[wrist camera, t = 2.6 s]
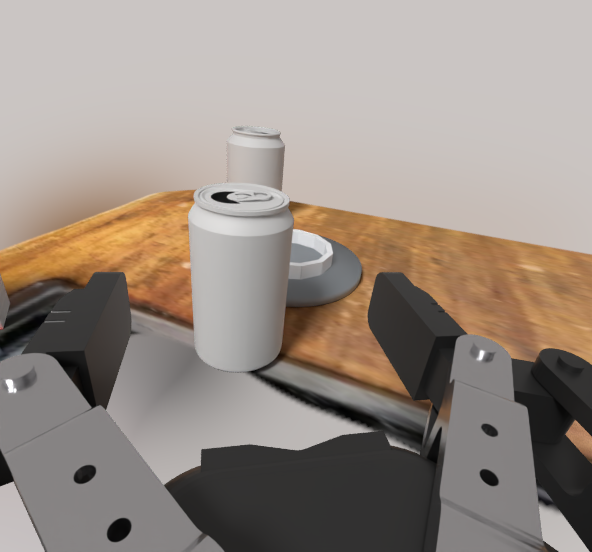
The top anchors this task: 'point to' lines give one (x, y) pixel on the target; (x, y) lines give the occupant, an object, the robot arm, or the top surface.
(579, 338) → the top surface
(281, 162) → the can
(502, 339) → the top surface
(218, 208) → the beverage can
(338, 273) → the dock
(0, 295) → the grey printed carton
